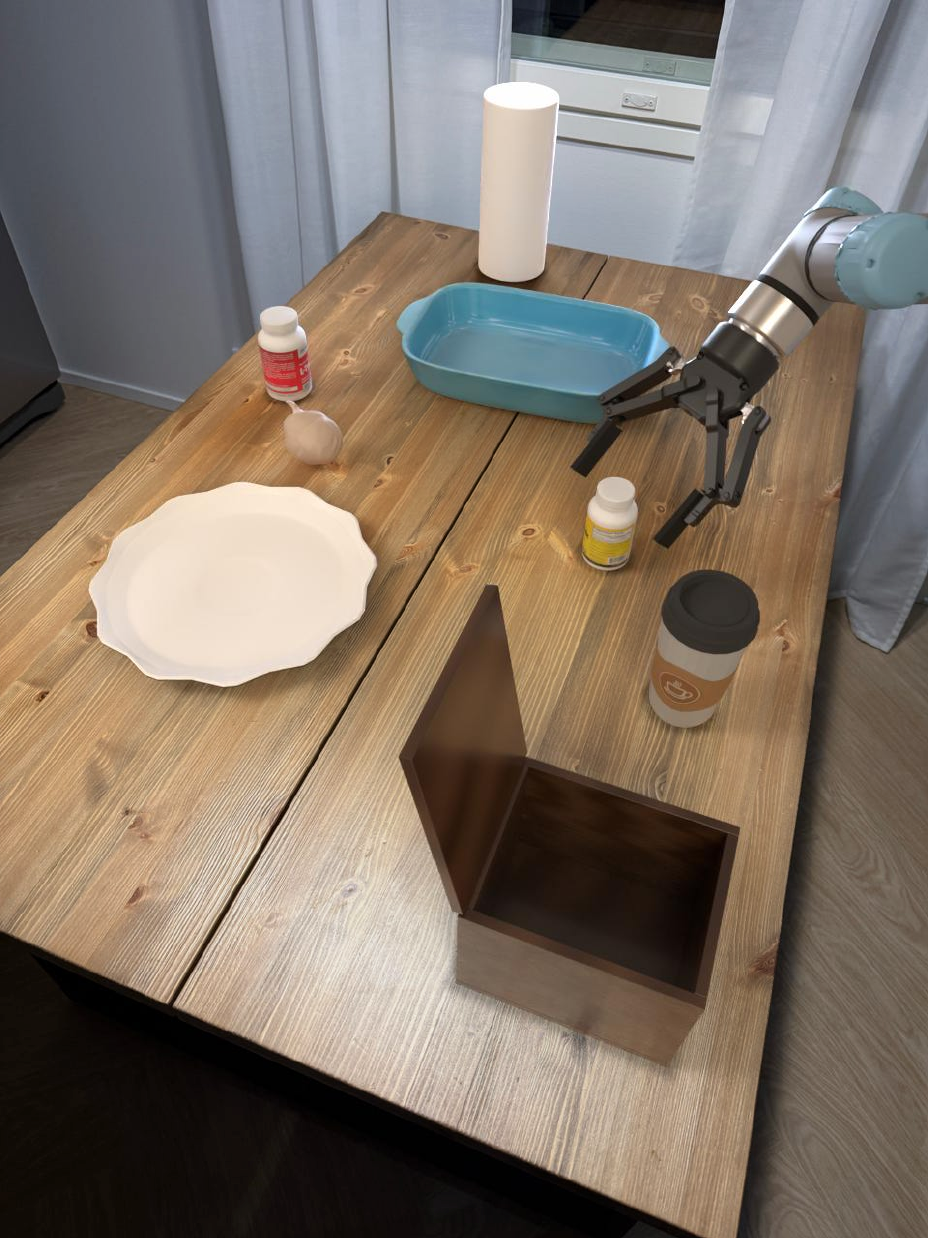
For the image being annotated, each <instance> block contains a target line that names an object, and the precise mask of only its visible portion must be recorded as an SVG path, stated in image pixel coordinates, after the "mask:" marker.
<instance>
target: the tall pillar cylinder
mask: <svg viewBox="0 0 928 1238" xmlns="http://www.w3.org/2000/svg"><path fill="white" fill-rule="evenodd" d="M559 104H560V96H559V94H558V93H557V91H556V90H554V89H552V88H550V87H548V86H546V85H543V84H542V85H541V84H538V83H533V82H532V83H531V82H521V81H519V82H516V81H515V82H505V83H499V84H496V85H492V86H491V87H488V88H487V89H486V90H485V91H484V93H483V97H482V127H481V128H482V130H481V131H482V132H481V160H480V193H479V194H480V195H479V225H478V226H479V230H478V259H477V261H478V263H477V265H478V269H479V271H480V272H481V273H482V274H483V275H485V276H487V277H489V278H490V279H493V280H496V281H501V282H506V283H507V282H509V283H520V282H526V281H530V280H533V279H535V278H537V277H539V276H540V275H541V274H542V273H543V272H544V270H545V265H546V253H547V244H548V243H547V241H548V230H549V219H550V207H551V197H552V187H553V186H552V185H553V174H554V163H555V150H556V141H557V127H558V117H559V107H560V105H559Z"/></svg>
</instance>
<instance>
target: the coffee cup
mask: <svg viewBox="0 0 928 1238" xmlns="http://www.w3.org/2000/svg"><path fill="white" fill-rule="evenodd" d="M757 597H758V596H757V595H756V593H755V592H754V591H753V589H752V587H751V586H749V585H748V584H747V583H746V582H745V581H744V580H743V579H742V578H739V577H738V576H736V575H734V574H731V573H729V572H726V571H723V570H718V569H712V568H709V569H708V568H707V569H698V570H693V571H689V572H688V573H685V574H684V575H682V576H681V577H679V579H678V580H677V581H676V582H675V583H674V584H672V586H671V587H670V588H669V589H668V591H667V594H666V595H665V598H664V600H663V602H662V604H661V610H660V615H661V622H660V628H659V634H658V636H657V639H656V645H655V651H654V656H653V663H652V668H651V679H650V684H649V688H648V689H649V690H648V700H649V704H650V707H651V708H652V710H653V711H654V714H656V715H657V717H658V718H659V719H660V720H662V721H663V722H665V723H666V724H668V725H671V726H673V727H677V728H682V729H688V728H693V727H698V726H699V725H702V724H704V723H706V722H708V720H709V719H710V718H711V717H712V716H713V714H714V712H715V710H716V708H717V706H718V704H719V703H720V701H721V700H722V698H723V697H724V695H725V693H726V691H727V689H728V688H729V686H730V684H731V683H732V680H733V678H734V676H735V675H736V672H737V670H738V668H739V666H740V663H741V661H742V659H743V656H744V655H745V653H746V651H747V649H748V647H749V646H750V644H752V643H753V641H754V640H755V639H756V636H757V634H758V632H759V631H758V630H759V625H760V621H761V610H760V608H759V600H758V598H757Z"/></svg>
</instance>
